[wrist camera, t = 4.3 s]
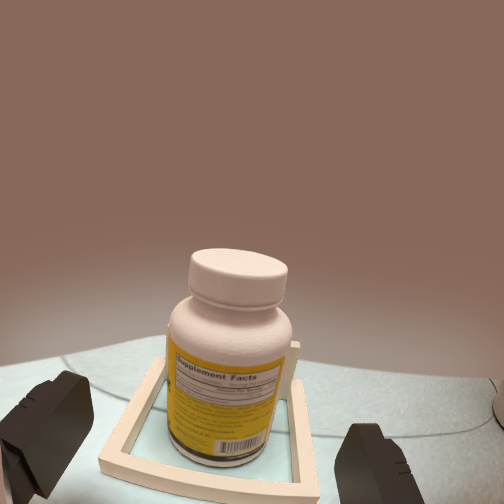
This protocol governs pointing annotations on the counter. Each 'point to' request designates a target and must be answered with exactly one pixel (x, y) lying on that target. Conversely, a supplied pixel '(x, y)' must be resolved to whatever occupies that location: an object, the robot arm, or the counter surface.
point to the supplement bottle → (227, 356)
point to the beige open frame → (204, 484)
